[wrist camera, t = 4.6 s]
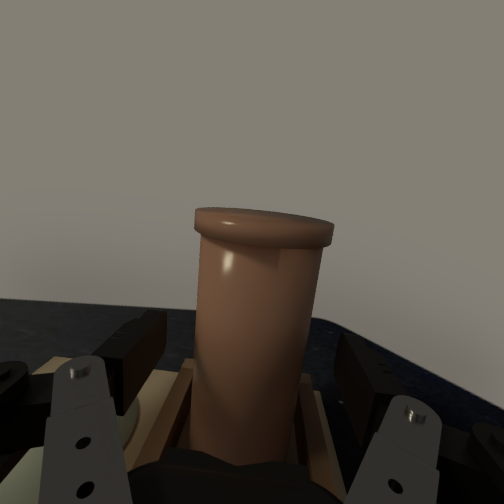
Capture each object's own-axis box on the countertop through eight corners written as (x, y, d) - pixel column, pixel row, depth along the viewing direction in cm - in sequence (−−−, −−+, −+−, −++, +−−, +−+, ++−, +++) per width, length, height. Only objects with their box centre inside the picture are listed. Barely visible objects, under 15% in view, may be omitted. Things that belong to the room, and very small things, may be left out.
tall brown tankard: (284, 397, 20) (313, 214, 16) (295, 531, 12) (354, 234, 9) (204, 386, 20) (217, 203, 17) (164, 511, 12) (173, 213, 9)
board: (317, 401, 21) (324, 364, 20) (380, 666, 9) (404, 603, 8) (55, 366, 22) (52, 329, 21) (-193, 571, 10) (-222, 504, 9)
